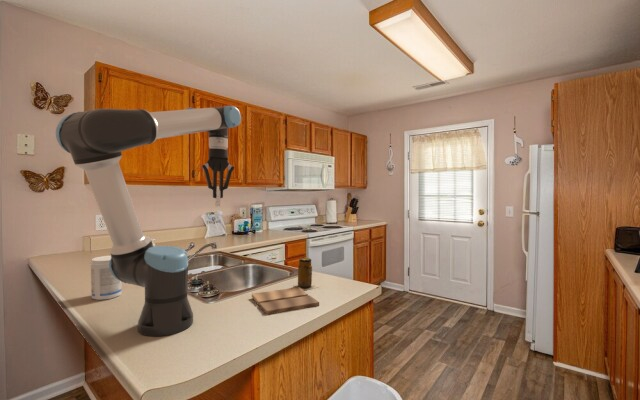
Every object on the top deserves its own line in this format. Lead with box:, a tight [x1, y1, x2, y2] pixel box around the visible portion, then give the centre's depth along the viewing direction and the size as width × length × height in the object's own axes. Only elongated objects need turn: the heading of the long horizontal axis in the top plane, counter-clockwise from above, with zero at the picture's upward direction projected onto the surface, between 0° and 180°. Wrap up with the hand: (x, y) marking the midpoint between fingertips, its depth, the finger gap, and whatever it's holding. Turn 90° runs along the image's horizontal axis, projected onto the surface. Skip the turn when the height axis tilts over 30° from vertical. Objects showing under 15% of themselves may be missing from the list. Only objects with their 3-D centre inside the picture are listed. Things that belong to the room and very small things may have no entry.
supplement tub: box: [90, 255, 123, 301], centre depth 119 cm, size 10×10×15 cm
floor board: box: [258, 294, 320, 315], centre depth 114 cm, size 20×9×1 cm, turn 118°
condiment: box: [293, 257, 319, 291], centre depth 137 cm, size 7×8×12 cm
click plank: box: [251, 287, 309, 306], centre depth 122 cm, size 20×8×1 cm, turn 118°
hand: (217, 206), depth 131 cm, fingers closed
